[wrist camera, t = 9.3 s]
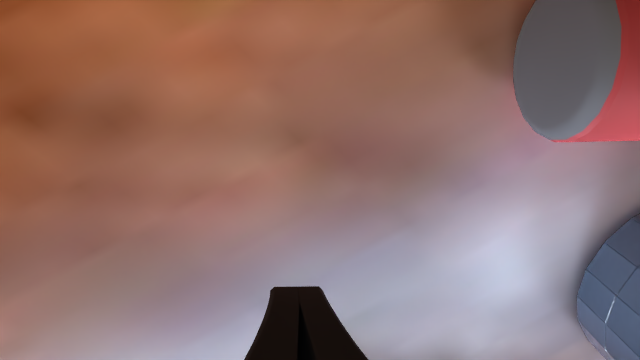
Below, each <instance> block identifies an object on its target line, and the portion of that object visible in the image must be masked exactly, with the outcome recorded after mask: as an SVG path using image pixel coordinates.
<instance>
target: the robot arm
mask: <svg viewBox="0 0 640 360" xmlns="http://www.w3.org/2000/svg"><path fill="white" fill-rule="evenodd" d="M244 360H368V359H367V357H366V356H365V355H364V354H363V352H362V351H361V350H360V349H359V347H358V346H357V345H356V343H355V342H354V341H353V339H352V338H351V336H350V335H349V333H348V332H347V331H346V329H345V328H344V326H343V325H342V323H341V322H340V320H339V319H338V317H337V315H336V314H335V312H334V311H333V309H332V307H331V306H330V304H329V302H328V300H327V298H326V296H325V294H324V292H323V290H322V289H321V288H320V287H274V288H273V289H272V290H270V298H269V303H268V306H267V310H266V313H265V315H264V318H263V321H262V323H261V326H260V328H259V330H258V333H257V335H256V337H255V340H254V342H253V344H252V346H251V348H250V350H249V351H248V353H247V355H246V357H245V359H244Z"/></svg>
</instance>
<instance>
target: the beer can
mask: <svg viewBox="0 0 640 360" xmlns="http://www.w3.org/2000/svg"><path fill="white" fill-rule="evenodd" d="M513 83H514V89H515V95H516V100H517V102H518V105H519V107H520V110H521V113H522V115H523V117H524V119H525V120H526V121H527V122H528V124H529V125H530V126H531V127H532V129H533V130H534V131H535V132H536V133H538V134H540V135H541V136H543V137H545V138H547V139H549V140H551V141H553V142H594V141H637V140H640V0H536V1H535V2H534V4H533V6H532V8H531V9H530V11H529V13H528V15H527V17H526V18H525V20H524V22H523V25H522V28H521V31H520V34H519V37H518V40H517V44H516V50H515V56H514V64H513Z"/></svg>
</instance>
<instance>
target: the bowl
mask: <svg viewBox="0 0 640 360" xmlns="http://www.w3.org/2000/svg"><path fill="white" fill-rule="evenodd" d="M577 295H578V296H577V319H578V322H579V324H580V326H581V328H582V330H583V332H584V334H585V336H586V338H587V339H588V341H589V342H590V343H591V344H592V345H593V346H594V347H595V348H596V349H597V350H598V351H599V353H600V354H601V355H602V356H603V357H604V358H605V359H606V360H640V214H638V215H636V216H634V217H633V218H631V219H630V220H629V221H627V222H626V223H625V224H624V225H623V226H622V227H621V228H620V229H618V230H617V231H616V232H615V233H614V234H613V235H612V236H611V237H609V238H608V239H607V240H606V241H605V243H604V244H603V245H602V247H601V248H600V250H599V251H598V252H597V254H596V255H595V257H594V258H593V260H592V261H591V263H590V264H589V265H588V267H587V269H586V271H585V273H584V276H583V279H582V282H581V285H580V288H579V291H578V294H577Z"/></svg>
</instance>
